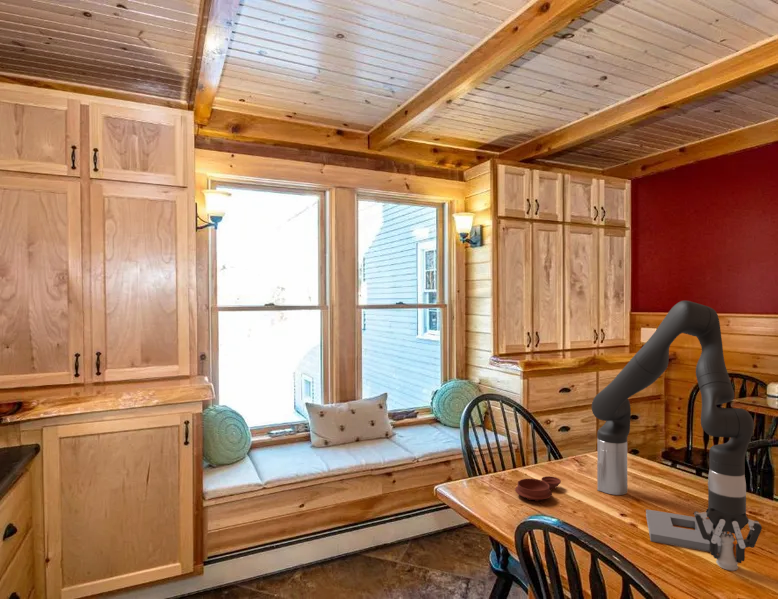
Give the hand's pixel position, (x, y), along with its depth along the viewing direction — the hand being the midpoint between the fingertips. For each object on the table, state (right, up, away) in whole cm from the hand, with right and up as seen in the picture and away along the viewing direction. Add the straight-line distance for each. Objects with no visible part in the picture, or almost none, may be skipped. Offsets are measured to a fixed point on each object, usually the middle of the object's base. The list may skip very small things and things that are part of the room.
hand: (726, 558), depth 116 cm
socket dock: (-1, -2, +16) cm, 16 cm away
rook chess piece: (0, -2, 0) cm, 2 cm away
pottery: (-32, -2, +43) cm, 54 cm away
